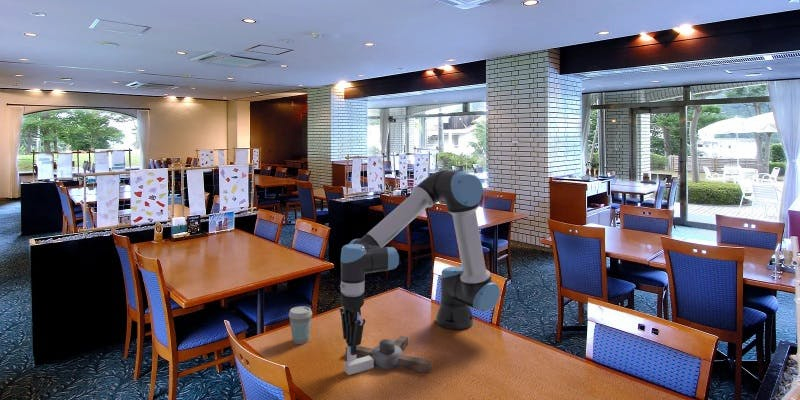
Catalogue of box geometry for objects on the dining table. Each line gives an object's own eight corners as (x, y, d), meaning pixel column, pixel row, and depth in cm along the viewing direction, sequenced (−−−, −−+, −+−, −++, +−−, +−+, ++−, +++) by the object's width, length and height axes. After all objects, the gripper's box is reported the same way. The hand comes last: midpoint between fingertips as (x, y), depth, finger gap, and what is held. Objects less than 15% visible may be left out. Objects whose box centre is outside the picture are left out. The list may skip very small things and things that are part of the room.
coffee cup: (307, 347, 162) (306, 315, 161) (285, 344, 164) (284, 313, 162) (316, 337, 170) (315, 306, 169) (295, 335, 172) (294, 304, 171)
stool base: (405, 342, 166) (405, 324, 166) (433, 372, 145) (434, 351, 144) (344, 353, 158) (344, 334, 157) (364, 386, 136) (364, 364, 135)
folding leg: (369, 364, 149) (369, 355, 149) (373, 367, 147) (373, 359, 146) (344, 371, 145) (344, 362, 144) (348, 375, 142) (348, 366, 142)
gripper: (332, 289, 147) (332, 357, 150) (351, 301, 136) (350, 374, 139) (353, 285, 151) (352, 352, 154) (373, 296, 140) (371, 368, 143)
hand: (351, 362), depth 146 cm, fingers closed
